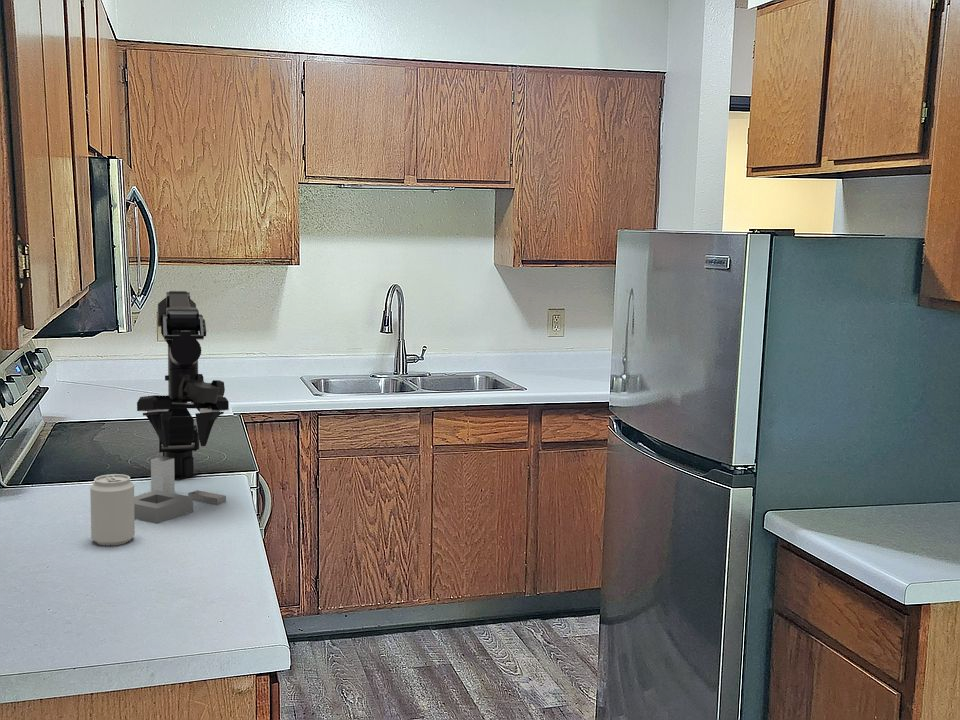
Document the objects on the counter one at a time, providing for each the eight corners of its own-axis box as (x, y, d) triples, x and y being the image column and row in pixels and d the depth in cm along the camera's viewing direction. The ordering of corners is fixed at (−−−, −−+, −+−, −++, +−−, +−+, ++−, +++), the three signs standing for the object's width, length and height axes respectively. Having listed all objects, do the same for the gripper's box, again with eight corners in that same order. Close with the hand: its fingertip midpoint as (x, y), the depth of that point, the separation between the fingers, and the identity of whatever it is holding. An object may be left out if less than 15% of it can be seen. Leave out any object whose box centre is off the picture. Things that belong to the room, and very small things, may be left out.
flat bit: (188, 501, 206) (188, 493, 206) (197, 498, 208) (197, 490, 208) (217, 506, 202) (217, 498, 202) (226, 503, 205) (226, 495, 205)
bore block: (119, 515, 193) (119, 500, 192) (156, 503, 202) (156, 490, 201) (157, 523, 188) (157, 508, 188) (193, 511, 197) (193, 496, 197)
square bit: (151, 495, 208) (150, 459, 207) (162, 492, 211) (162, 456, 210) (163, 497, 207) (162, 461, 206) (174, 494, 210) (174, 458, 209)
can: (99, 549, 172) (98, 484, 171) (85, 538, 178) (84, 475, 176) (140, 542, 177) (140, 478, 175) (126, 532, 183) (125, 470, 181)
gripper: (170, 364, 184) (172, 446, 182) (245, 368, 199) (247, 444, 198) (134, 369, 190) (135, 448, 188) (210, 373, 205) (211, 446, 204)
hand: (185, 446), depth 194 cm, fingers open, 9 cm apart
